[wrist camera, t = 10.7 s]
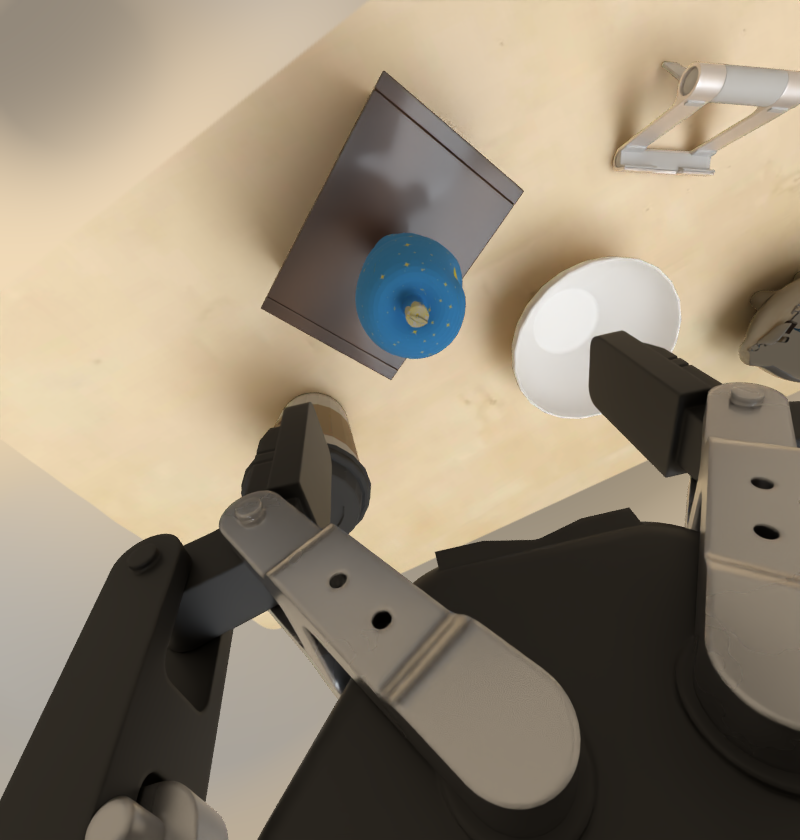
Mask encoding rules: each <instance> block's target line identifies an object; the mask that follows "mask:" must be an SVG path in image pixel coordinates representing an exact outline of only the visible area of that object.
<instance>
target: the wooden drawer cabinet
mask: <svg viewBox="0 0 800 840" xmlns="http://www.w3.org/2000/svg"><path fill="white" fill-rule="evenodd" d="M523 192H524V191H523V190H522V189H521V188H520V187H519V186H518V185H517V184H516V183H514V182H513V181H512V180H511V179H510V178H509V177H507V176H506V175H505V174H504V173H503V172H502V171H500V170H499V169H498V168H497V167H496V166H495V165H493V164H492V163H491V162H490V161H489V160H488V159H486V158H485V157H484V156H483V155H482V154H481V153H480V152H478V151H477V150H476V149H475V148H474V147H473V146H471V145H470V144H469V143H468V142H467V141H466V140H464V139H463V138H462V137H461V136H460V135H459V134H457V133H456V132H455V131H454V130H453V129H452V128H450V127H449V126H448V125H447V124H446V123H445V122H443V121H442V120H441V119H440V118H439V117H438V116H437V115H435V114H434V113H433V112H432V111H431V110H430V109H428V108H427V107H426V106H425V105H424V104H423V103H421V102H420V101H419V100H418V99H417V98H416V97H414V96H413V95H412V94H411V93H410V92H409V91H407V90H406V89H405V88H404V87H403V86H402V85H401V84H399V83H398V82H397V81H396V80H395V79H394V78H392V77H391V76H390V75H389V74H388V73H387V72H385V71H383V72H382V74H381V76H380V77H379V79H378V81H377V83H376V85H375V87H374V89H373V90H372V92H371V94H370V96H369V98H368V100H367V102H366V104H365V106H364V108H363V110H362V112H361V114H360V116H359V117H358V119H357V121H356V123H355V125H354V127H353V129H352V131H351V133H350V135H349V137H348V139H347V141H346V143H345V145H344V147H343V149H342V150H341V152H340V154H339V156H338V158H337V160H336V162H335V164H334V166H333V168H332V170H331V172H330V174H329V176H328V178H327V180H326V182H325V183H324V185H323V187H322V189H321V191H320V193H319V195H318V197H317V199H316V201H315V203H314V205H313V207H312V209H311V211H310V213H309V215H308V216H307V218H306V220H305V222H304V224H303V226H302V228H301V230H300V232H299V234H298V236H297V238H296V240H295V242H294V244H293V246H292V248H291V249H290V251H289V253H288V255H287V257H286V259H285V261H284V263H283V265H282V267H281V269H280V271H279V273H278V275H277V277H276V279H275V281H274V283H273V285H272V287H271V289H270V291H269V293H268V295H267V297H266V299H265V301H264V303H263V305H262V307H261V309H263V310H265V311H267V312H268V313H270V314H272V315H274V316H276V317H278V318H279V319H281V320H283V321H285V322H287V323H288V324H290V325H292V326H294V327H296V328H298V329H299V330H301V331H303V332H305V333H307V334H308V335H310V336H312V337H314V338H316V339H318V340H319V341H321V342H323V343H325V344H327V345H328V346H330V347H332V348H334V349H336V350H337V351H339V352H341V353H343V354H345V355H347V356H348V357H350V358H352V359H354V360H356V361H357V362H359V363H361V364H363V365H365V366H367V367H368V368H370V369H372V370H374V371H376V372H377V373H379V374H381V375H383V376H385V377H387V378H388V379H390V380H392V378H393V377H394V375H395V374H396V372H397V371H398V369H399V368H400V367H401V365H402V364H403V362H404V361H405V360H406V358H402V357H399V356H396V355H392V354H390V353H388V352H386V351H385V350H383V349H381V348H380V347H379V346H377V345H376V344H375V343H374V342H373V341H372V340H371V339H370V337H369V336H368V335H367V333H366V332H365V330H364V328H363V327H362V325H361V322H360V320H359V317H358V314H357V310H356V301H355V294H356V286H357V282H358V278H359V275H360V273H361V270H362V267H363V264H364V262H365V260H366V258H367V256H368V255H369V253H370V252H371V250H372V249H373V248H374V247H375V245H376V244H377V242H378V241H379V240H380V239H382V238H383V237H385V236H387V235H390V234H400V233H414V234H418V235H421V236H424V237H428V238H430V239H433V240H435V241H437V242H439V243H440V244H441V245H443V246H444V247H445V248H446V249H448V250H449V251H450V252H451V253H452V254H453V255H454V256H455V258H456V259H457V261H458V263H459V265H460V269H461V273H462V279H463V277H464V276H465V274H466V273H467V271H468V270H469V269H470V267H471V266H472V264H473V263H474V262H475V260H476V259H477V257H478V256H479V254H480V253H481V252H482V250H483V249H484V247H485V246H486V245H487V243H488V242H489V240H490V239H491V237H492V236H493V235H494V233H495V232H496V230H497V229H498V227H499V226H500V225H501V223H502V222H503V220H504V219H505V218H506V216H507V215H508V213H509V212H510V210H511V209H512V208H513V206H514V205H513V204H515V203H516V202H517V201H518V199H519V198H520V196H521V195H522V193H523Z"/></svg>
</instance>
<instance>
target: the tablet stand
mask: <svg viewBox="0 0 800 840" xmlns="http://www.w3.org/2000/svg"><path fill="white" fill-rule="evenodd" d="M662 67H663V68H664V69H666V70H667V71H668V72H669V73H670V74H672V75H673V76H674V77H675V78H676V79H678V80H679V85H678V90H677V97H676V100H675V103H674V104H673V105H672V107H670V108H669V109H668V110H667V111H666V112H664V113H663V114H662V115H660V116H659V117H658V118H657V119H655V120H654V121H653V122H651V123H650V124H649V125H648V126H646V127H645V128H644V129H642V130H641V131H640V132H639V133H637V134H636V135H635V136H633V137H632V138H631V139H630V140H628V141H627V142H626V143H625V144H623V145H622V146H621V147H620V148H619V149H618V150H617V152H616V154H615V156H614V159H613V169H614V170H615V171H621V172H639V173H657V174H674V175H692V176H709V175H714V172H715V170H711V169H710V159H711V156H713V155H714V154H716V153H717V151H718V150H720V149H722V148H724V147H725V146H727V145H729V144H731V143H733V142H734V141H736V140H738V139H740V138H741V137H743V136H745V135H747V134H748V133H750V132H752V131H754V130H756V129H757V128H759V127H761V126H763V125H764V124H766V123H768V122H770V121H771V120H773V119H775V118H777V117H778V116H780V115H782V114H784V113H785V112H787V111H789V110H790V109H792V108H794V107H796V106H797V105H799V104H800V71H793V70H782V69H771V68H760V67H750V66H739V65H728V64H717V63H706V62H693V63H692V64H690V65H689V66H688V67H687V68H684V67H683V66H681V65H680V64H678V63H677V62H663V64H662ZM708 102H710V103H722V104H735V105H747V106H758V107H757V109H756V110H755V111H754V112H753V113H752V114H751V115H749V116H747V117H746V118H744V119H743V120H741V121H739V122H738V123H736V124H734V125H733V126H731V127H729V128H728V129H726V130H724V131H723V132H721V133H720V134H718V135H716V136H715V137H713V138H711V139H710V140H708V141H706V142H705V143H703V144H701V145H700V146H698V147H697V148H695V149H693V150H692V151H676V150H660V149H646V148H647V146H648V145H650V144H651V143H653V142H654V141H655V140H657V139H658V138H660V137H661V136H662V135H664V134H665V133H667V132H668V131H669V130H671V129H672V128H674V127H675V126H676V125H678V124H679V123H681V122H682V121H683V120H685V119H686V118H688V117H689V116H690V115H692V114H693V113H695V112H696V111H697V110H699V109H700V108H701V107H703V106H704V105H706V104H707V103H708Z"/></svg>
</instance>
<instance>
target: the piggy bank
mask: <svg viewBox="0 0 800 840" xmlns="http://www.w3.org/2000/svg"><path fill="white" fill-rule="evenodd" d="M750 303H751V305H752V306H753V307H754V308H755V309H757V310H758V311H757V312H756V313H755V315H754V317H753V318H752V320H751V322H750V324H749V326H748V329H747V331H746V334H745V339H744V341H743V342H742V344H741V345H740V347H739V357H740V359H741V361H742V362H743V363H745V364H746V365H749V366H756V367H758V368H760V369H762V370H763V371H765V372H767V373H769V374H771V375H773V376H775V377H778V378H781V379H784V380H788V381H793V382H799V383H800V271H799V272H798V273H797V274H796V275H795V277H794V278H793V282H791V283H789V284H788V285H786V286H785V287H783V288H781V289H780V290H778V291H769V290H761V291H758V292H756V293H755V294H754V295H753V296H752V298H751V300H750Z"/></svg>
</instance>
